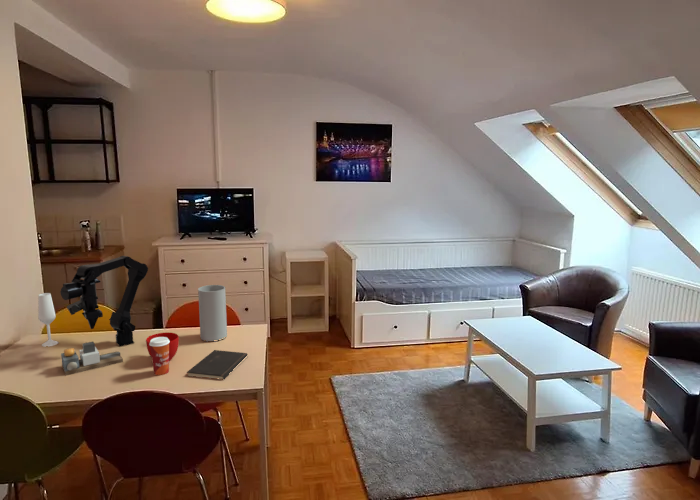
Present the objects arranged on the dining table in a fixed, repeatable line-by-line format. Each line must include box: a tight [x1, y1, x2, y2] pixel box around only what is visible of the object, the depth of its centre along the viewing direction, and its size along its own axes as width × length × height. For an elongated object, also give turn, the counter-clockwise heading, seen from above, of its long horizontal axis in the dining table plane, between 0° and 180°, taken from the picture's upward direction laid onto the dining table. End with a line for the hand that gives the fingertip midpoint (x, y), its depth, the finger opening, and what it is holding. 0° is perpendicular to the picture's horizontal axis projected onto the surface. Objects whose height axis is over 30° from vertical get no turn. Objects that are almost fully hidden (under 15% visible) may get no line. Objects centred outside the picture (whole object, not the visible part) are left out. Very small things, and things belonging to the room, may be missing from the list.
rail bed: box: [60, 350, 124, 376], centre depth 191 cm, size 21×10×6 cm, turn 129°
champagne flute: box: [37, 292, 59, 348], centre depth 211 cm, size 7×7×24 cm
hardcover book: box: [186, 349, 248, 380], centre depth 192 cm, size 16×23×2 cm
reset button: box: [63, 347, 76, 356], centre depth 185 cm, size 4×4×2 cm
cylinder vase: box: [197, 284, 228, 342], centre depth 221 cm, size 12×12×25 cm
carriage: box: [78, 341, 100, 366], centre depth 190 cm, size 6×8×8 cm
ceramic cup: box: [145, 332, 180, 362], centre depth 198 cm, size 13×17×10 cm
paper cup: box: [149, 337, 170, 376], centre depth 184 cm, size 8×8×14 cm
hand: (92, 328), depth 200 cm, fingers closed
